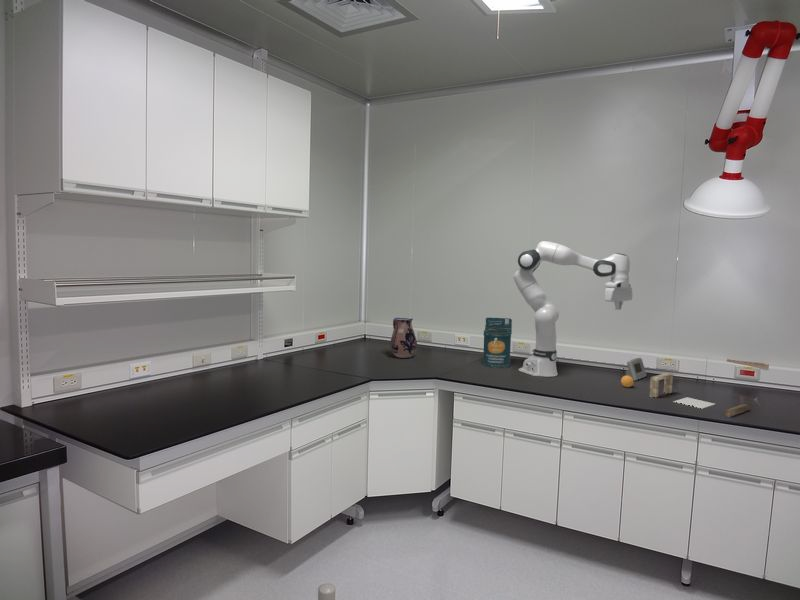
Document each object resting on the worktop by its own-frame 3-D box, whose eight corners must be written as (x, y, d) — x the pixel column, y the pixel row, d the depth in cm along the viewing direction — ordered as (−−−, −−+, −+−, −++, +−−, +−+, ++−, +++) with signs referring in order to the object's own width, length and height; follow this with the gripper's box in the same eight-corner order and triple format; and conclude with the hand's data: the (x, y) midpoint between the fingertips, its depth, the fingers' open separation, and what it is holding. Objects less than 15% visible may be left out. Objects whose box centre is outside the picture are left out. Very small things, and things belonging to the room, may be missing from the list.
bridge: (649, 396, 256) (650, 377, 255) (665, 392, 265) (667, 373, 264) (655, 398, 254) (656, 378, 253) (671, 393, 262) (673, 374, 261)
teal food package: (510, 363, 328) (512, 318, 326) (509, 368, 313) (510, 321, 310) (484, 361, 332) (485, 317, 330) (481, 366, 317) (483, 320, 314)
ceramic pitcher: (402, 360, 330) (402, 321, 328) (381, 355, 346) (381, 317, 344) (422, 357, 342) (423, 319, 339) (401, 352, 358) (401, 315, 355)
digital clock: (634, 382, 285) (635, 362, 284) (619, 378, 293) (620, 359, 292) (651, 378, 294) (652, 359, 293) (636, 374, 301) (637, 356, 300)
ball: (618, 386, 275) (618, 375, 274) (624, 384, 278) (625, 373, 278) (629, 389, 270) (629, 377, 269) (635, 387, 273) (636, 376, 273)
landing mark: (673, 401, 248) (673, 401, 248) (687, 397, 255) (687, 397, 255) (701, 408, 237) (701, 408, 237) (715, 404, 245) (715, 403, 245)
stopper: (724, 416, 227) (724, 410, 227) (742, 409, 238) (743, 403, 237) (729, 417, 226) (729, 411, 225) (747, 410, 236) (748, 404, 236)
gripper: (625, 282, 290) (624, 307, 291) (603, 283, 278) (601, 309, 279) (636, 283, 285) (634, 309, 286) (614, 284, 273) (612, 311, 274)
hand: (618, 309), depth 283 cm, fingers closed
